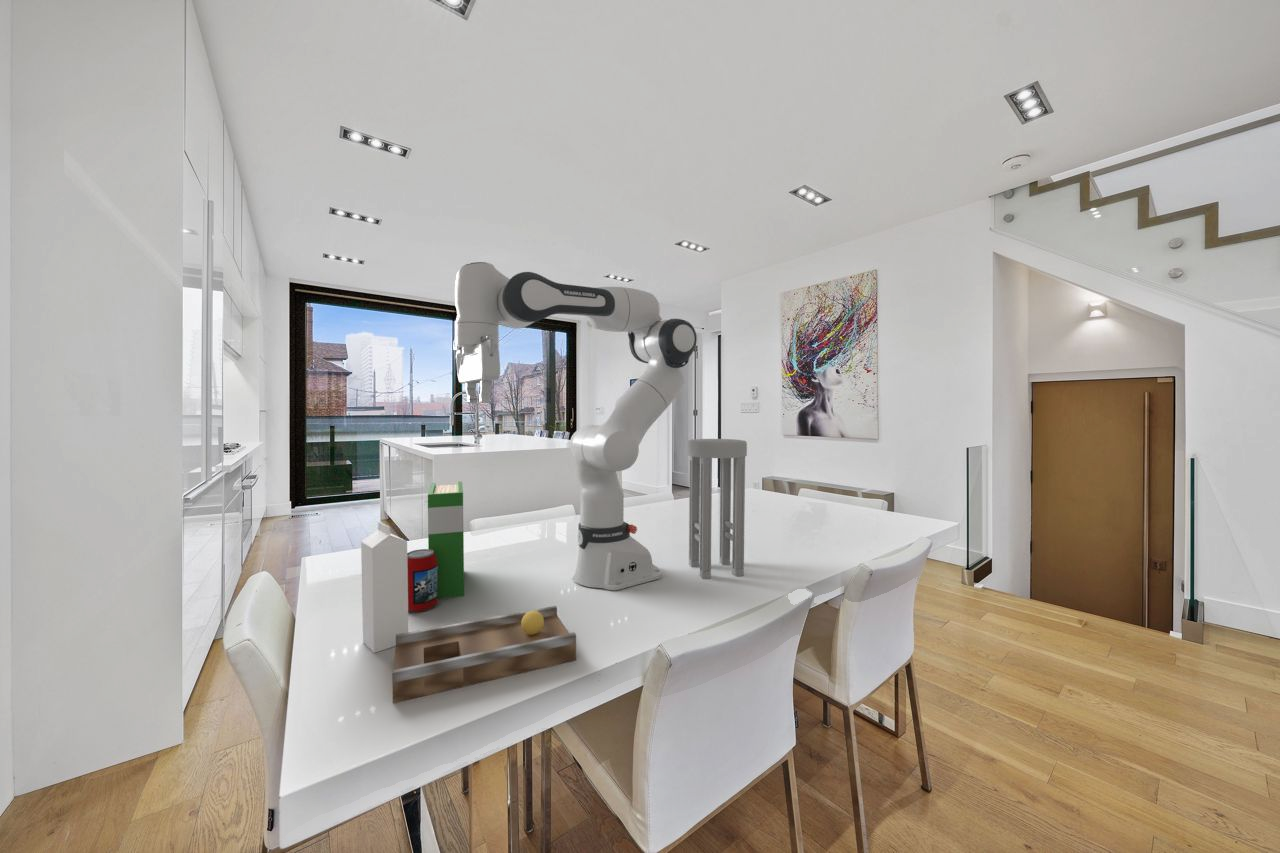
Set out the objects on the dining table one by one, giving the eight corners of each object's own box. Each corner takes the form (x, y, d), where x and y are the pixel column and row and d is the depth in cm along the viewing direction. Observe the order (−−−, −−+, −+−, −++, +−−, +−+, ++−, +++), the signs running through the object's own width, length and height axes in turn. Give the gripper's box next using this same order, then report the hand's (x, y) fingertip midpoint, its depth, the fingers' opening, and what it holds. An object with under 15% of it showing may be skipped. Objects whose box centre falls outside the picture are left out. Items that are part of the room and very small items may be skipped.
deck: (555, 628, 93) (555, 605, 93) (576, 660, 81) (576, 634, 81) (396, 660, 81) (395, 634, 81) (392, 703, 69) (392, 673, 69)
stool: (697, 582, 118) (698, 442, 116) (679, 562, 133) (680, 438, 132) (754, 577, 121) (756, 442, 120) (731, 559, 136) (732, 438, 135)
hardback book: (432, 574, 123) (431, 482, 122) (462, 571, 125) (462, 481, 124) (429, 600, 106) (427, 494, 105) (464, 595, 109) (463, 492, 108)
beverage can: (424, 615, 98) (423, 558, 98) (396, 612, 100) (395, 556, 99) (444, 602, 105) (443, 549, 105) (417, 599, 106) (416, 547, 106)
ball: (541, 626, 87) (541, 605, 87) (546, 636, 83) (546, 614, 83) (519, 631, 85) (519, 609, 85) (523, 641, 82) (523, 618, 81)
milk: (396, 631, 91) (395, 518, 91) (409, 642, 87) (408, 523, 87) (361, 642, 87) (360, 524, 86) (373, 654, 83) (371, 529, 82)
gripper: (507, 334, 95) (508, 402, 96) (479, 345, 112) (479, 403, 113) (475, 331, 92) (476, 402, 92) (451, 343, 108) (452, 403, 109)
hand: (478, 403), depth 102 cm, fingers open, 8 cm apart
